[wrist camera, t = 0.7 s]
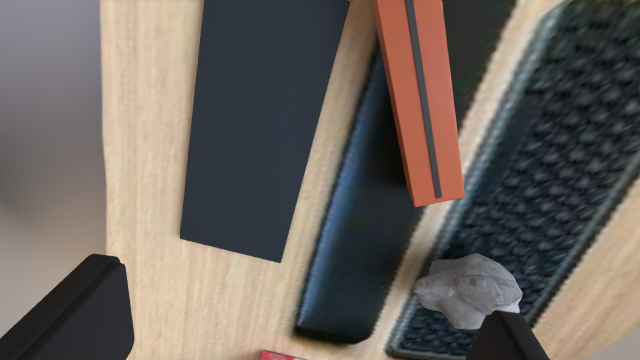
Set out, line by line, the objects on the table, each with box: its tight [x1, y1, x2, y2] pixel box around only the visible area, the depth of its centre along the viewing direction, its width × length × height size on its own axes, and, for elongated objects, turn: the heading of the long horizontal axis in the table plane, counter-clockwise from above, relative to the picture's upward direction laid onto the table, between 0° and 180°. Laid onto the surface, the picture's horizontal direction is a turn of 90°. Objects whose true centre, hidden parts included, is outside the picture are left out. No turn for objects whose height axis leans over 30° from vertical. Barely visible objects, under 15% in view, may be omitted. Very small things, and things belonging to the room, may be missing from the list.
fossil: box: [412, 253, 522, 329], centre depth 34 cm, size 11×9×8 cm
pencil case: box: [371, 0, 465, 207], centre depth 28 cm, size 19×4×4 cm, turn 15°
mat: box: [180, 0, 350, 263], centre depth 32 cm, size 26×11×1 cm, turn 165°
